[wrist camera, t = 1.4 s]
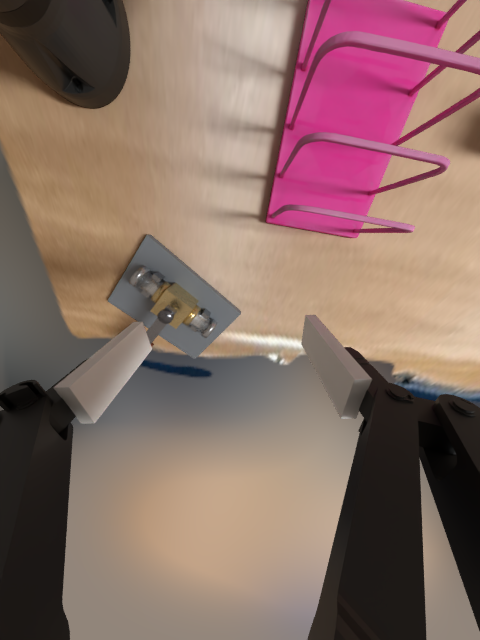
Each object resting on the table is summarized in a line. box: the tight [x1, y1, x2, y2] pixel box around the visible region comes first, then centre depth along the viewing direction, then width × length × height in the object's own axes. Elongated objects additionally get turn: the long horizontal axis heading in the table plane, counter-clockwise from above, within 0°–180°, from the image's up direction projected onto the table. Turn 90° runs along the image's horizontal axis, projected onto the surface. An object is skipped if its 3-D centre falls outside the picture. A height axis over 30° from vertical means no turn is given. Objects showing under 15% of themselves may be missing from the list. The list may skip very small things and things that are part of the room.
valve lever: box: [146, 304, 177, 347], centre depth 34 cm, size 15×3×3 cm, turn 138°
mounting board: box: [108, 235, 241, 359], centre depth 39 cm, size 24×18×2 cm
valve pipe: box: [129, 266, 218, 338], centre depth 36 cm, size 18×6×6 cm, turn 48°
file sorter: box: [266, 0, 480, 238], centre depth 20 cm, size 17×25×16 cm
